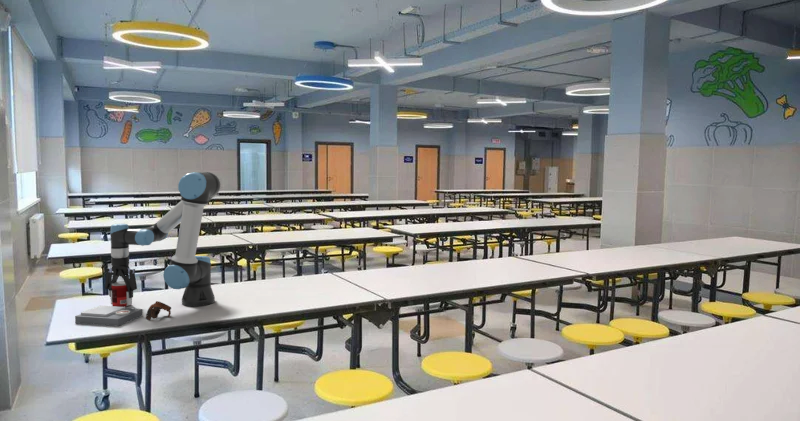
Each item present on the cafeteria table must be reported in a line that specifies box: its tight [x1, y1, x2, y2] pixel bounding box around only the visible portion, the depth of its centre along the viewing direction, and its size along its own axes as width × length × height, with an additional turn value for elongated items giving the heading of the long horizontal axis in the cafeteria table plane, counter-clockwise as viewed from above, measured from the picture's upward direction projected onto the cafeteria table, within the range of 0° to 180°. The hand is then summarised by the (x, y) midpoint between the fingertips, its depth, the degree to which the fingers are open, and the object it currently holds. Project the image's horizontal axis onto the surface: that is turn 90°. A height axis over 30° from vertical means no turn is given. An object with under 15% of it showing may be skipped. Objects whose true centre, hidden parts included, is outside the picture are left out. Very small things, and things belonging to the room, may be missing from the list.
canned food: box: [111, 280, 130, 308], centre depth 254 cm, size 8×8×11 cm
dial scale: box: [74, 305, 143, 327], centre depth 232 cm, size 20×16×4 cm
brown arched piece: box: [145, 300, 172, 321], centre depth 235 cm, size 12×10×8 cm
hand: (121, 304), depth 254 cm, fingers closed on canned food, 8 cm apart
